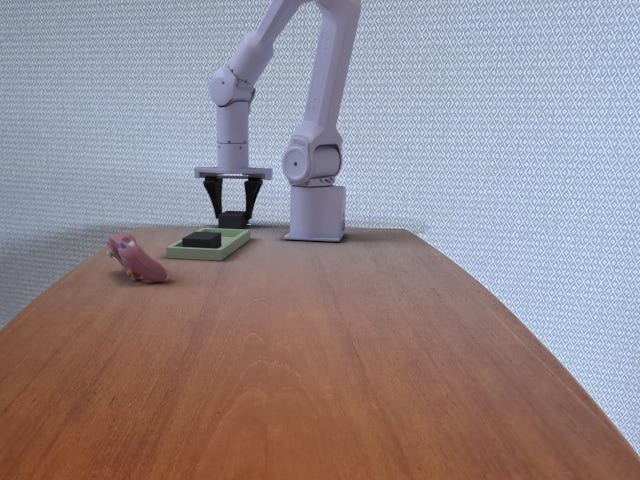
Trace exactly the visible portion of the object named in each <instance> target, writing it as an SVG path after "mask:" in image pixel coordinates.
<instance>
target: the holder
mask: <svg viewBox="0 0 640 480" xmlns="http://www.w3.org/2000/svg"><path fill="white" fill-rule="evenodd" d="M194 232H217V233H221V244H222V246H221V247H220V248H218V249H212V248H191V247H182V238H181V239H179V240H177V241H175V242H173V243H171V244H169V245H168V246H166V247H165V251H166V259H182V260H199V261H200V260H202V261H217V262H218V261H223V260H224V259H225V258H227V257H228V256H230V255H231V254H232V253H234V252H235V251H236V250H238V249H239V248H240V247H242V246H243V245H244V244H246V243H248V242H249V241H251V230H250V229H243V228H242V229H229V228H218V227H217V228H215V227H201V228H199V229H197V230H196V231H194Z"/></svg>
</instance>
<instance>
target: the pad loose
mask: <svg viewBox="0 0 640 480" xmlns="http://www.w3.org/2000/svg"><path fill="white" fill-rule="evenodd" d="M245 211H246V210H225V211H222V213H221V214H219V215H218V219H217V228H219V229H243V228H245V227H246V226H247V225H249V224H250V220H246V216H245Z"/></svg>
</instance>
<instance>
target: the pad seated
mask: <svg viewBox="0 0 640 480" xmlns="http://www.w3.org/2000/svg"><path fill="white" fill-rule="evenodd" d="M181 239H182V247H191V248H212V249H218V248H220V247H221V246H222V244H221V233H217V232H195V231H193V232H192V233H189V234H187V235H186V236H184V237H182V238H181Z"/></svg>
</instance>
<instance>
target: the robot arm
mask: <svg viewBox="0 0 640 480" xmlns="http://www.w3.org/2000/svg"><path fill="white" fill-rule="evenodd" d="M312 2H314V4H315V5H316V7H317V8H318V10H319V12H320V13H321V15H322V19H321V23H320V29H319V34H318V39H317V45H316V50H315V55H314V60H313V66H312V71H311V76H310V81H309V86H308V92H307V98H306V102H305V108H304V113H303V118H302V122H301V123H300V124H299V125H298V126H297V127H296V129H294V131H293V132H292V134H291V135H290V140H289V143H288V146H287V148H286V149H285V151H284V152H283V155H282V157H281V168H282V172H283V175H284V176H285V178H286V179H287V180H288V186H290V196H289V197H290V201H289V231H288V232H287V233H286V234H285V235H284V236H283V239H284V240H292V241H293V240H294V241H317V242H335V243H336V242H337V243H338V242H340V241H341V240H342V238H343V236H344V235H345V230H346V205H347V204H346V203H347V202H346V201H347V188H346V186H345V185H334V184H335V183H336V177H338V175H339V174H340V172H341V171H342V169H343V168H342V167H343V163H344V158H343V153H342V148H343V147H342V146H343V142H344V141H343V140H344V139H343V136H342V135H341V133H340V132H339V130H338V129H337V124H338V120H339V114H340V111H341V104H342V101H343V96H344V91H345V88H346V87H345V86H346V82H347V77H348V73H349V67H350V63H351V60H352V59H351V58H352V54H353V49H354V44H355V39H356V34H357V30H358V25H359V22H360V21H359V20H360V16H361V11H362V1H361V0H271V1H270V3H269V4H268V6H267V8H266V10H265V13H264V14H263V16H262V18H261V20H260V22H259V24H258V26H257V28H256V29H255V31H251V32H247V33H245V34H244V35H243V36H241V37H240V38H239V41H238V43H239V45H238V46H237V47H236V50H235V51H234V52H233V54H232V56H231V57H230V59H229V60H228V62H227V63H226V65H225V66H223V68H221V69H218V70H216V71H214V72H213V73H212V75H211V78H210V80H209V85H208V86H209V87H208V93H209V96H210V99H211V100H212V102H213V103H214V104H215V107H216V108H215V109H216V149H217V150H216V151H217V152H216V153H217V157H216V158H217V166H195V167H193V175H194V179H204V180H203V181H202V185H203V187H204V189H205V191H206V193H207V195H208V197H209V199H210V203H211V205H212V208H213V211H214V217H215V219H217V220H218V215H219V214H221V213H223V199H222V198H223V197H222V196H223V183H224V179H225V180H226V179H229V180H244V181H243V186H244V195H245V210H244V211H245V216H246V220H249V221H250V220H251V219H252V218H253V213H254V208H255V204H256V201H257V198H258V196H259V194H260V193H259V192H260V191H261V189H262V186H263V184H264V181H271V180H273V176H274V175H273V172H274V171H273V170H274V168H272V167H271V168H270V167H269V168H268V167H254V166H253V167H251V166H249V163H250V162H249V160H250V159H249V156H250V155H249V154H250V153H249V145H250V144H249V140H250V139H249V116H250V113H251V107H252V106H251V105H252V104H253V101H254V100H255V97H256V92H257V89H256V88H255V85H256V83H257V82H258V80H259V79H260V77H262V76H261V75H262V74H263V73H264V71H265V69H266V68H267V66H268V65H269V63H270V62H271V61H272V58H273V57H274V56H275V51H274V49H275V48H274V43H275V41H276V40H277V38H278V37H279V36H280V35H281V33H282V32H283V30H284V29H285V28H286V26H287V25H288V24H289V22H290V21H291V19H293V17H294V15H295V14H296V13H297V12H298V10H299V8H300V7H301V6H302V5H303V4H304V5H305V4H307V3H312Z"/></svg>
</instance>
